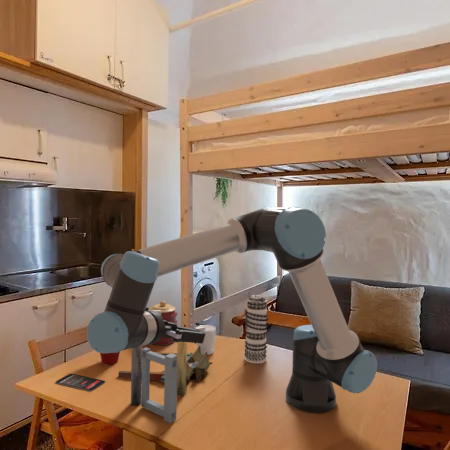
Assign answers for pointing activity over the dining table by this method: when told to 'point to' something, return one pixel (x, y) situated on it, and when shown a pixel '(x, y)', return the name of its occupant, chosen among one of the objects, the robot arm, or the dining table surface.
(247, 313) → the decorative candle
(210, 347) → the white cup
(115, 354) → the plastic cup
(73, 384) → the smartphone
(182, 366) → the latch post
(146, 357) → the grey rectangular frame
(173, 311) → the canister
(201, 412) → the dining table surface
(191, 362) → the miniature gate
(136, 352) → the hinge post
